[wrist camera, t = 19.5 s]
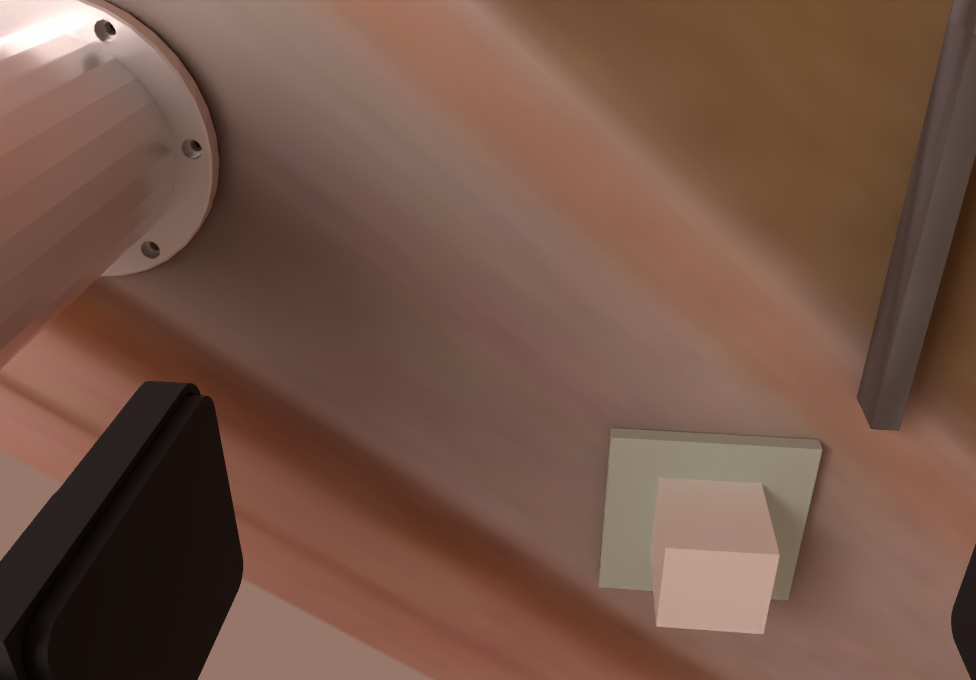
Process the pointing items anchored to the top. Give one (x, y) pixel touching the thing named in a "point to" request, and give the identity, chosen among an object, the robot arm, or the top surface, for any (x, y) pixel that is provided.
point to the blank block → (712, 555)
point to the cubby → (924, 226)
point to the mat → (700, 457)
